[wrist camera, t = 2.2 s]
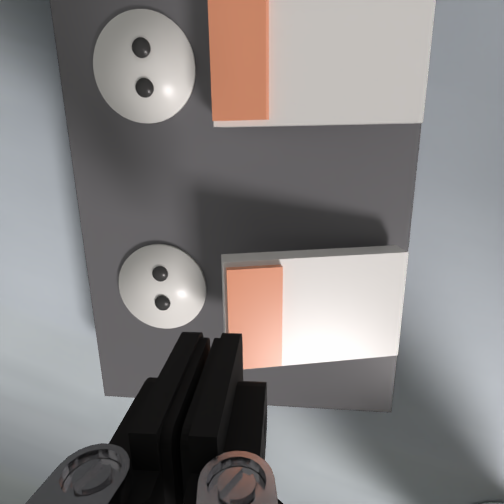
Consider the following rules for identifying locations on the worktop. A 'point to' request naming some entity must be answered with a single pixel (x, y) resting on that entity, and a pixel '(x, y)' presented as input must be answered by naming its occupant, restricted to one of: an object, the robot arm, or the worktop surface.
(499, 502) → the beer glass
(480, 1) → the worktop surface
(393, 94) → the outlet rocker
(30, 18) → the worktop surface
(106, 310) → the power strip
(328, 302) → the outlet rocker
